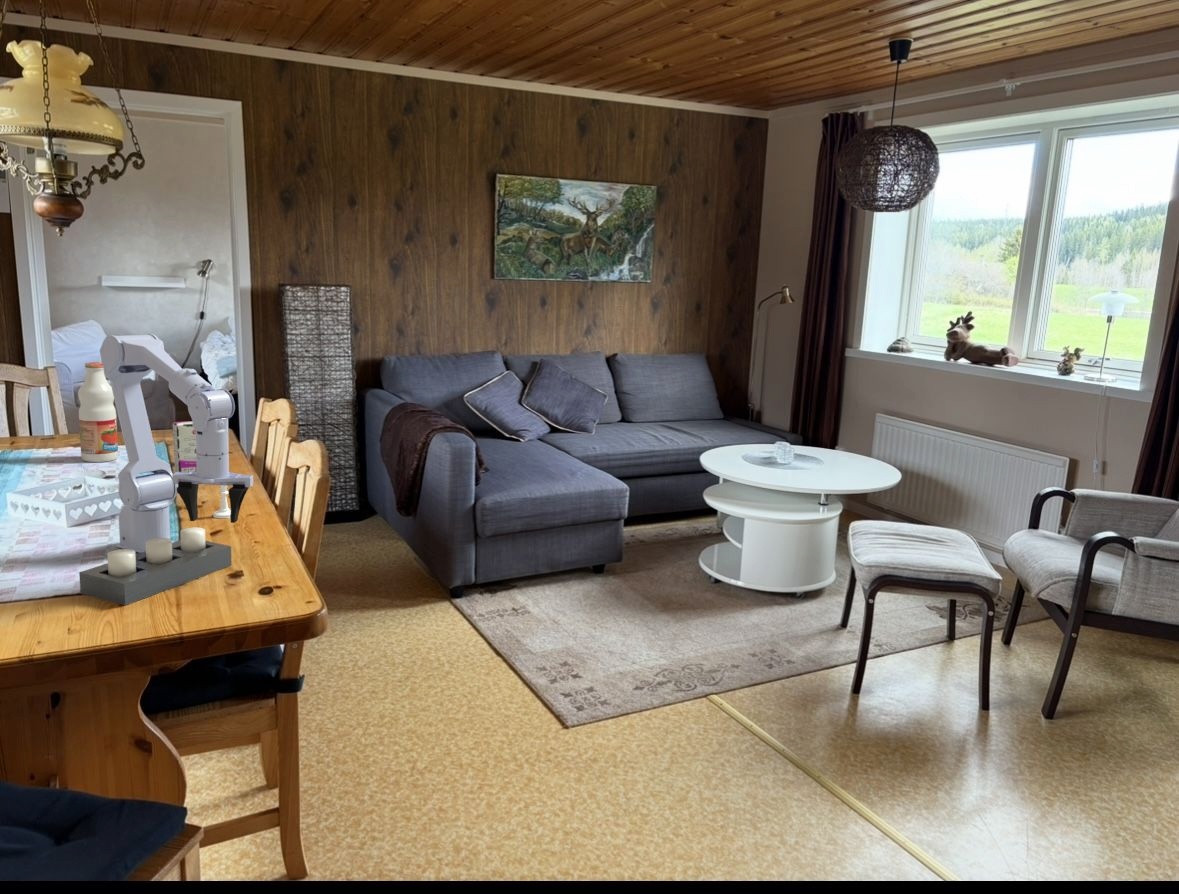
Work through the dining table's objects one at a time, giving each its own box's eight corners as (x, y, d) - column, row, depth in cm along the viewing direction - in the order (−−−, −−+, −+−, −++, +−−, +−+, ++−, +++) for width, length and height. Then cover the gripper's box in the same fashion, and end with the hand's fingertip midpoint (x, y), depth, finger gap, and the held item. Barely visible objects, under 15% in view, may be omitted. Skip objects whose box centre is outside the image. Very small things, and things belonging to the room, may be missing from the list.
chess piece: (209, 514, 205) (208, 473, 203) (230, 511, 208) (229, 471, 206) (218, 519, 201) (217, 478, 199) (239, 516, 205) (238, 475, 203)
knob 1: (102, 578, 154) (101, 554, 154) (124, 571, 158) (123, 547, 158) (120, 582, 153) (119, 558, 152) (142, 575, 157) (140, 551, 156)
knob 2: (176, 553, 169) (175, 531, 168) (193, 547, 173) (193, 526, 172) (193, 557, 167) (192, 535, 166) (210, 551, 171) (210, 529, 170)
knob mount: (80, 593, 154) (79, 572, 154) (190, 555, 177) (189, 537, 176) (125, 605, 150) (124, 583, 150) (231, 565, 173) (231, 546, 172)
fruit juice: (87, 455, 254) (81, 360, 249) (122, 455, 257) (117, 361, 251) (76, 462, 246) (70, 364, 240) (113, 462, 248) (108, 365, 242)
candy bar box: (217, 477, 239) (215, 418, 236) (223, 481, 235) (221, 422, 232) (174, 481, 232) (171, 421, 229) (179, 485, 228) (176, 424, 225)
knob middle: (141, 565, 162) (140, 542, 161) (160, 558, 166) (159, 536, 165) (158, 569, 160) (157, 546, 159) (177, 562, 164) (177, 540, 163)
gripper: (165, 455, 161) (167, 525, 164) (245, 459, 163) (246, 528, 165) (179, 447, 168) (181, 514, 171) (256, 451, 170) (256, 517, 172)
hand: (214, 520), depth 169 cm, fingers open, 7 cm apart
